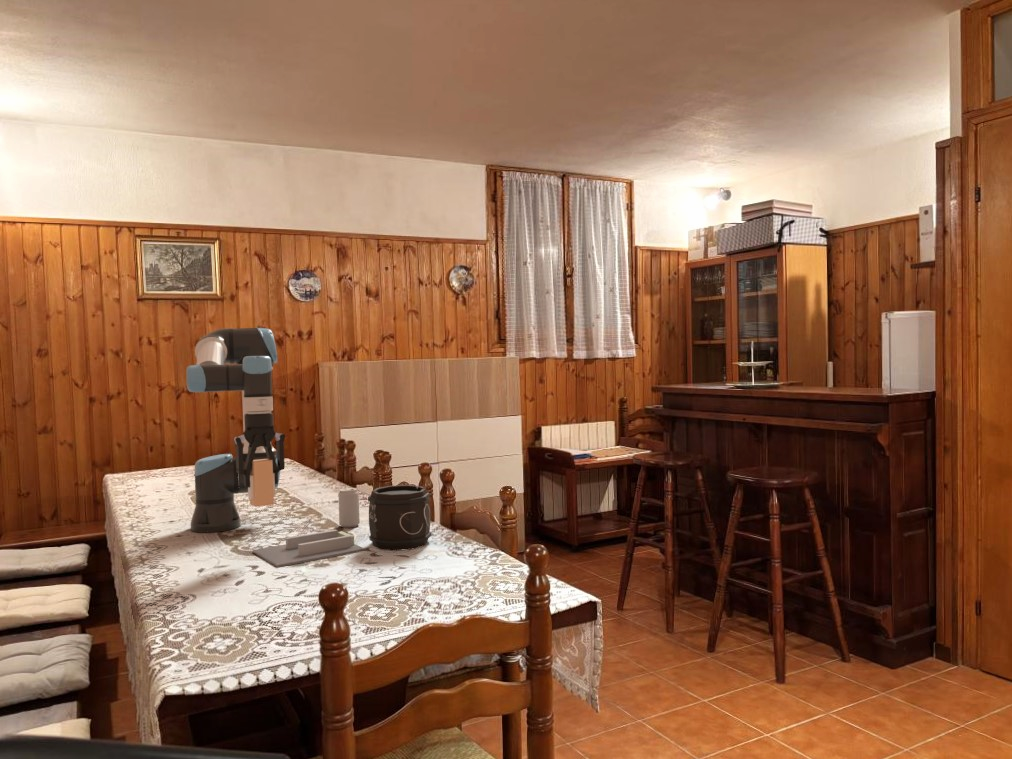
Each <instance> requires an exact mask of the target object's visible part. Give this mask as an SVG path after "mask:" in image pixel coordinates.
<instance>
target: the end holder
mask: <svg viewBox="0 0 1012 759" xmlns="http://www.w3.org/2000/svg"><path fill="white" fill-rule="evenodd" d="M365 551H366V548H365V547H363V546H360V545H359V544H356V543H355V536H354V535H352V534H349V533H347V532H345V531H338V529H329V530H324V531H318V532H313V533H307V534H300V535H296V536H295V535H294V536H288V537H285V543H284V544H281V545H280V544H279V545H274V546H268V547H262V548H257V549H252V553H253V554H255V555H257V556H258V557H260V558H261V559H262V560H264V561H265V562H267V563H270V564H271V565H273V566H274V567H277V568H279V567H280V568H281V567H286V566H292V565H297V564H302V563H306V562H313V561H318V560H323V559H329V558H333V557H334V558H335V557H338V556H344V555H350V554H354V553H361V552H365Z"/></svg>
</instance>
